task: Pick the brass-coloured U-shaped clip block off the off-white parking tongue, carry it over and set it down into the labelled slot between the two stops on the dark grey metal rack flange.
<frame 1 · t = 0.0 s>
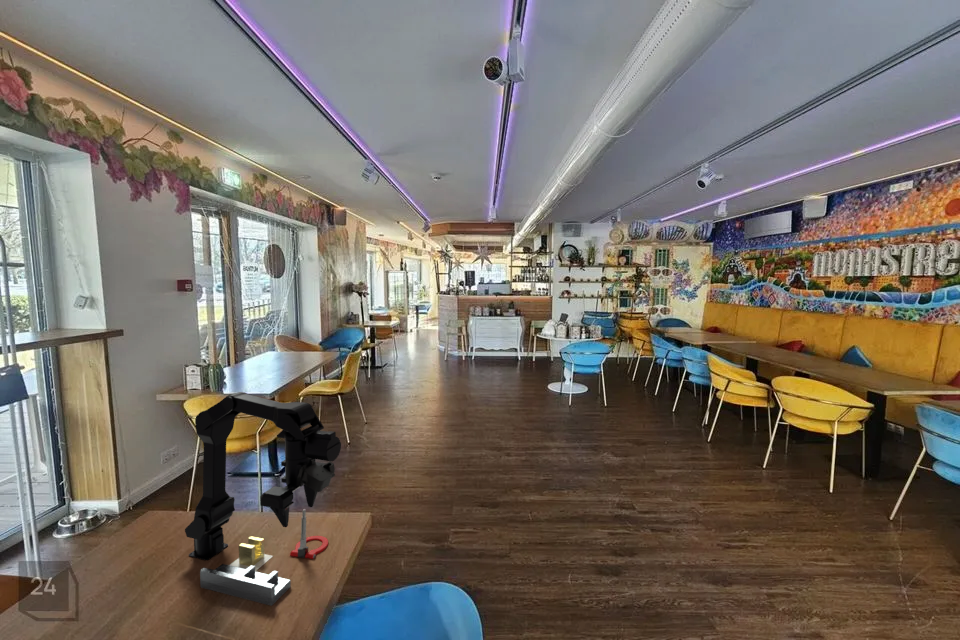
hand: (298, 516, 99), 15 cm above the table, fingers open, 9 cm apart
parking tongue: (251, 561, 104), on the table
tow hook: (311, 549, 110), on the table
rack flange: (245, 588, 95), on the table
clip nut: (251, 560, 104), resting on parking tongue
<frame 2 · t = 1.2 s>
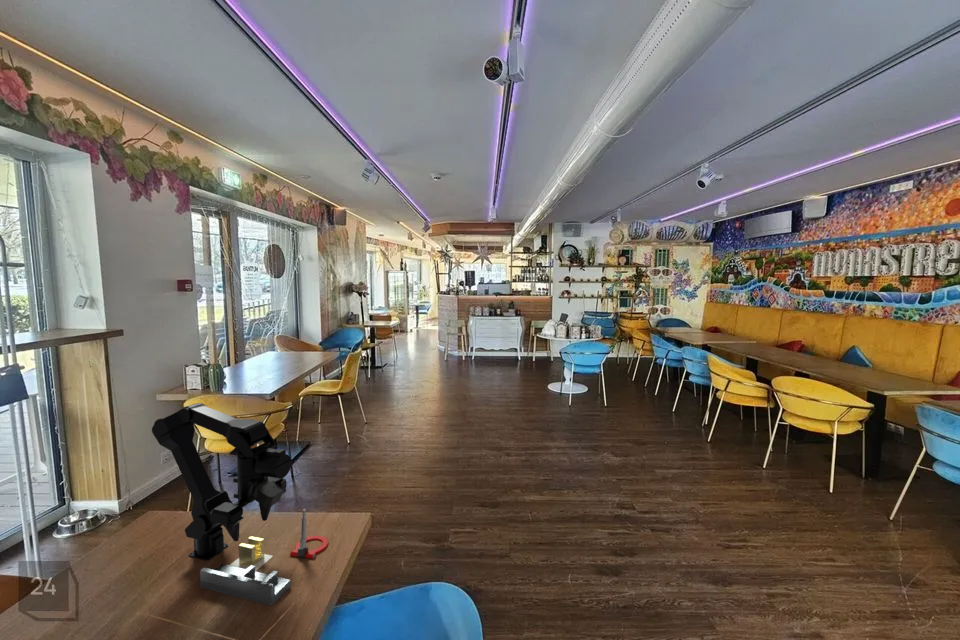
hand: (250, 530, 103), 8 cm above the table, fingers open, 9 cm apart
nothing on the table moved.
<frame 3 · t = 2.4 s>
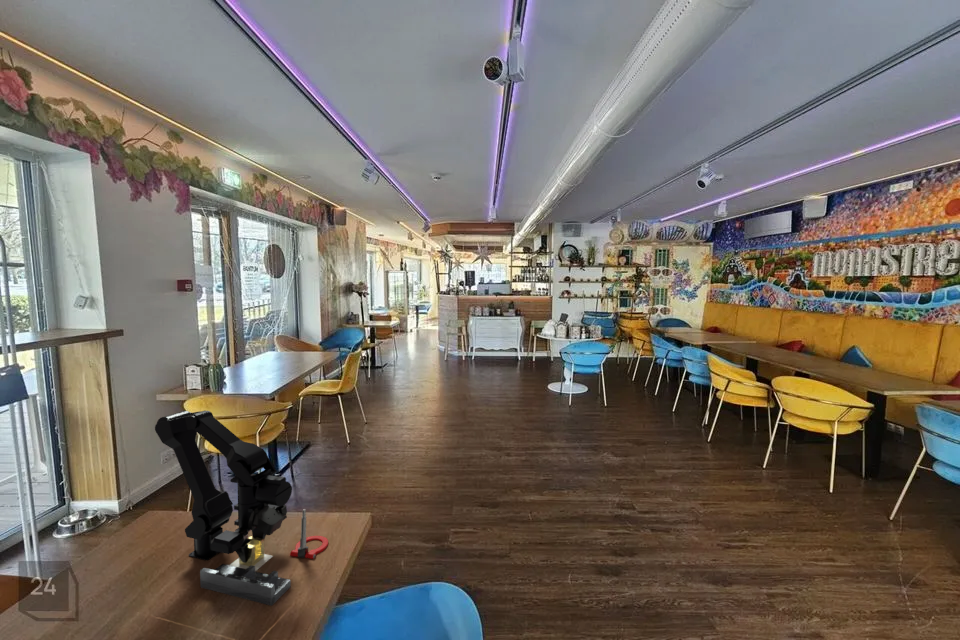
hand: (251, 556, 104), 1 cm above the table, fingers closed on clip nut, 4 cm apart
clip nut: (251, 560, 104), resting on parking tongue, touching gripper
everything else where it was.
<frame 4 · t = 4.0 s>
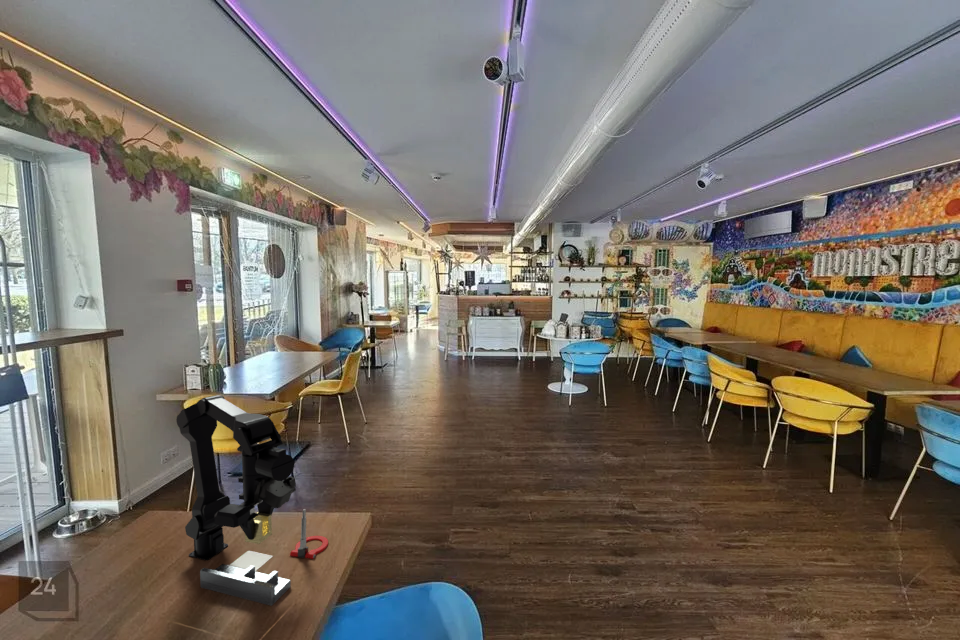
hand: (258, 533, 96), 12 cm above the table, fingers closed on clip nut, 4 cm apart
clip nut: (258, 537, 96), point 11 cm above the table, touching gripper
everything else where it was.
when the fingers open (4 cm above the table, at t = 5.6 s): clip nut drops 1 cm, resting on rack flange.
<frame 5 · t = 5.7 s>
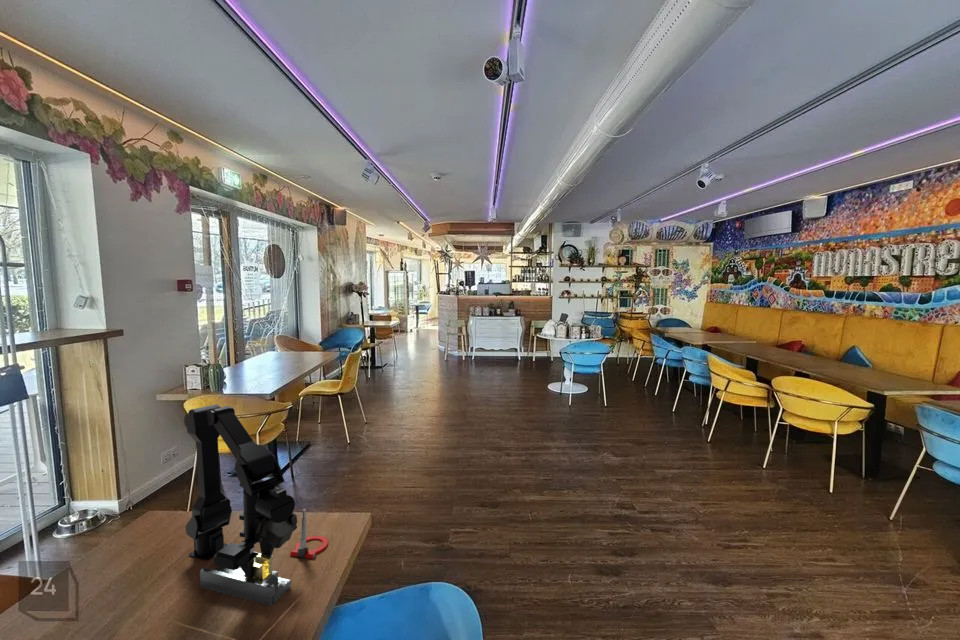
hand: (258, 571, 94), 4 cm above the table, fingers open, 4 cm apart
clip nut: (258, 580, 95), point 2 cm above the table, touching rack flange
everything else where it was.
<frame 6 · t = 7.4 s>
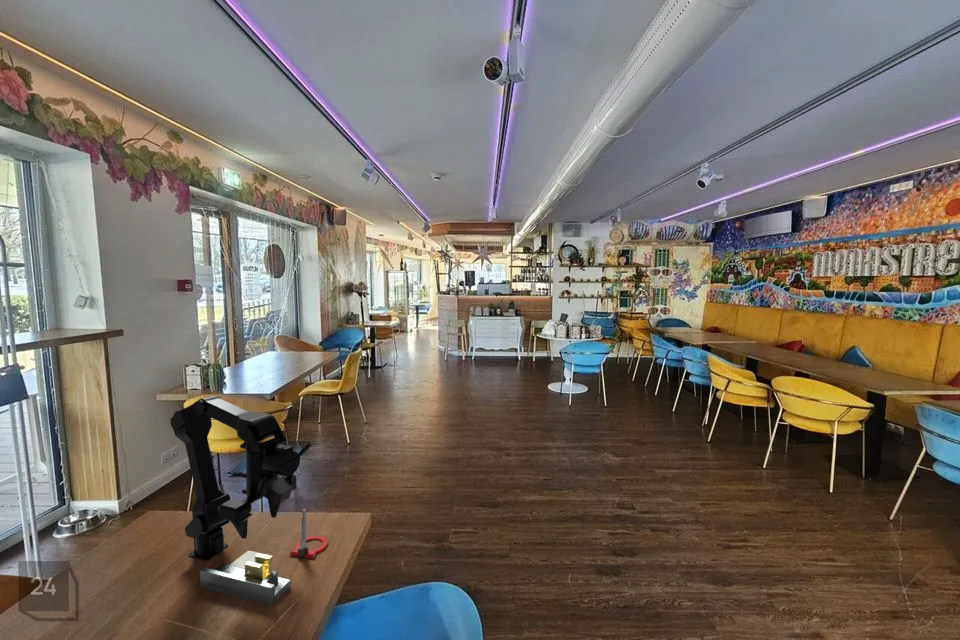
hand: (259, 527, 100), 12 cm above the table, fingers open, 9 cm apart
nothing on the table moved.
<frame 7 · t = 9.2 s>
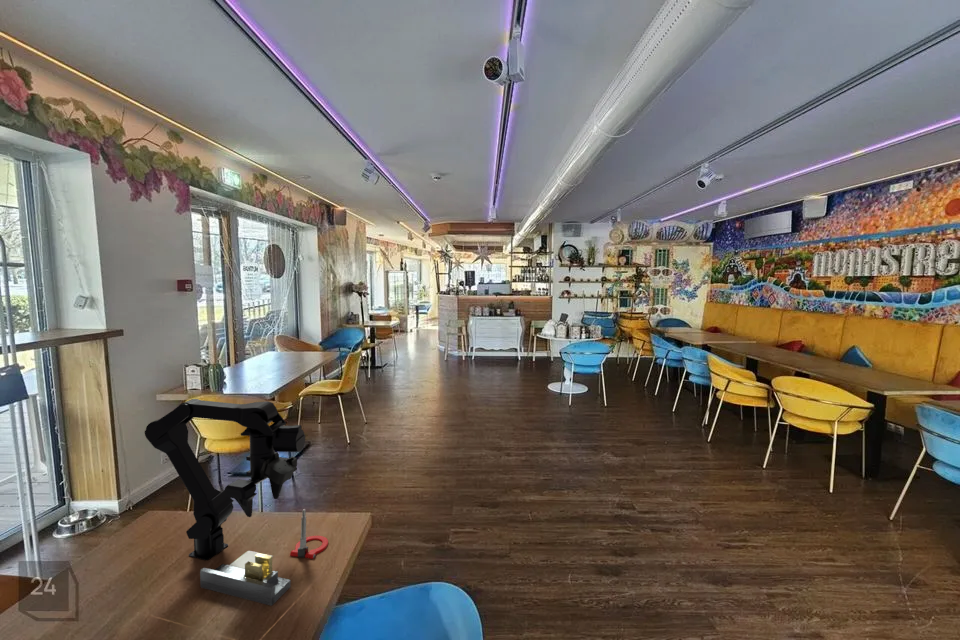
hand: (263, 507, 107), 13 cm above the table, fingers open, 9 cm apart
nothing on the table moved.
at the end: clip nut 0.2 cm from the target spot, point 2.0 cm above the table; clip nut tilted 0°; the gripper is holding nothing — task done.
